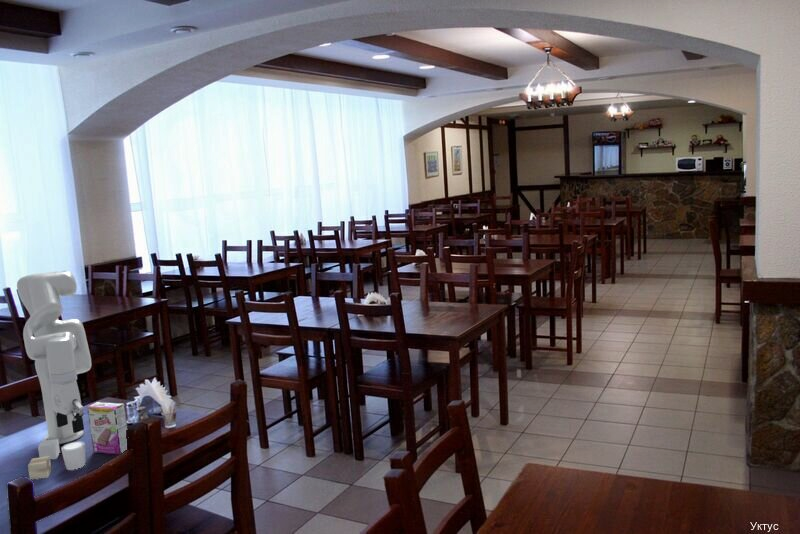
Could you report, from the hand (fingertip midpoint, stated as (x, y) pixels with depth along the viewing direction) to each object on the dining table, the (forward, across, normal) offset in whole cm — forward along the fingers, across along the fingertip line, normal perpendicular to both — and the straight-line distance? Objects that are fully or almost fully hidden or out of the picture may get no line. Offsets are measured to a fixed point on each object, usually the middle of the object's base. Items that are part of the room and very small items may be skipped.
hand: (70, 428), depth 211 cm
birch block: (+13, -4, -9) cm, 16 cm away
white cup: (+13, 0, 0) cm, 13 cm away
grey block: (+13, -15, -1) cm, 20 cm away
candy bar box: (+13, 0, +12) cm, 18 cm away
